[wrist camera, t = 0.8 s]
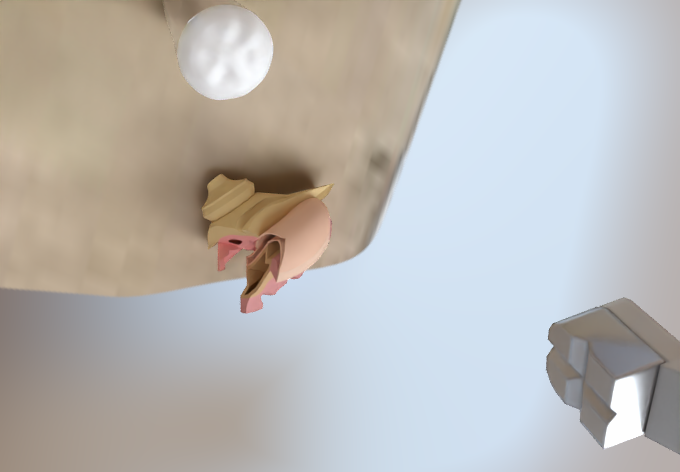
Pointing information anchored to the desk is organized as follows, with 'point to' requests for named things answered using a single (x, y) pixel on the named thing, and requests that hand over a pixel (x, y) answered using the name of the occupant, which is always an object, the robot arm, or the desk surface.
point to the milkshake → (219, 46)
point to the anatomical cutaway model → (266, 233)
